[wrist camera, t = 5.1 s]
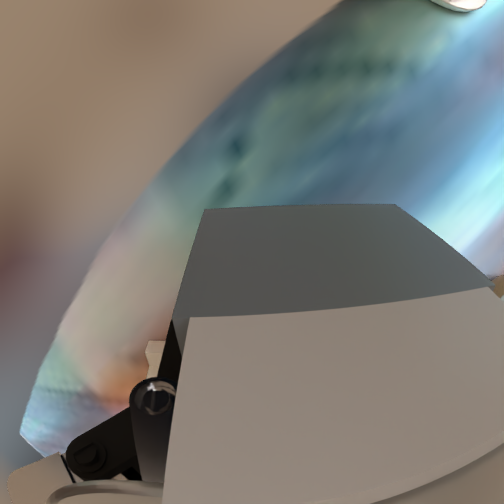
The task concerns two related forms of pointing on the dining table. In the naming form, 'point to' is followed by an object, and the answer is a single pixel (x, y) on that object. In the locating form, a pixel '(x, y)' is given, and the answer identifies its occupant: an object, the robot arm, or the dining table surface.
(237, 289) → the lidded gray box
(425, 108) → the dining table surface
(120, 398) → the dining table surface
